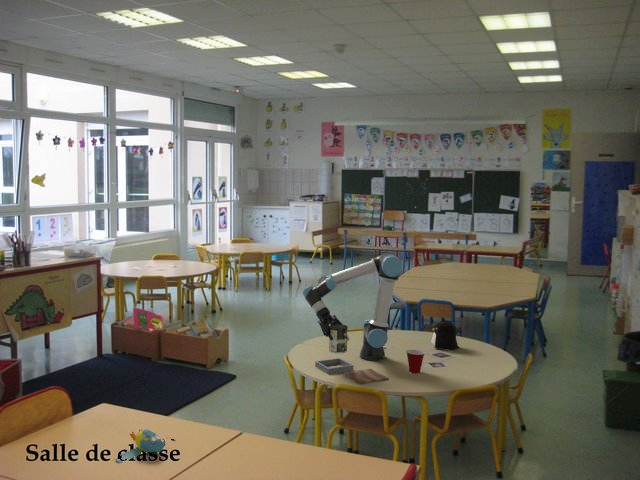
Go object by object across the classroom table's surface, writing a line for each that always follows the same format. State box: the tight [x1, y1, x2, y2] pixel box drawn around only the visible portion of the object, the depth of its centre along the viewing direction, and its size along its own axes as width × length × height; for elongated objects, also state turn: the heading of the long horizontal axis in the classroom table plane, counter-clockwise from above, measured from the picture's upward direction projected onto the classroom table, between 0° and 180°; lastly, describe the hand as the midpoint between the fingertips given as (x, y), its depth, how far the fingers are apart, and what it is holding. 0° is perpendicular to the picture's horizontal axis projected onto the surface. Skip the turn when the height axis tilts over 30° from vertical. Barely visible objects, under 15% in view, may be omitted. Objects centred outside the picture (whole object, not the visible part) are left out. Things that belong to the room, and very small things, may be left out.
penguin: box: [430, 319, 460, 350], centre depth 401 cm, size 18×18×17 cm
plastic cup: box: [405, 349, 426, 374], centre depth 350 cm, size 11×11×12 cm
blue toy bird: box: [115, 428, 167, 464], centre depth 246 cm, size 28×9×15 cm
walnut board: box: [342, 368, 390, 385], centre depth 340 cm, size 18×18×1 cm
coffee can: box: [328, 323, 348, 354], centre depth 350 cm, size 10×10×14 cm
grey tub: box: [314, 357, 355, 375], centre depth 355 cm, size 16×16×3 cm
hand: (342, 342), depth 348 cm, fingers closed on coffee can, 10 cm apart
